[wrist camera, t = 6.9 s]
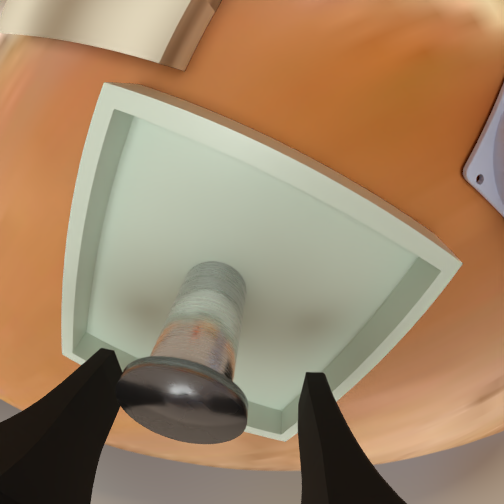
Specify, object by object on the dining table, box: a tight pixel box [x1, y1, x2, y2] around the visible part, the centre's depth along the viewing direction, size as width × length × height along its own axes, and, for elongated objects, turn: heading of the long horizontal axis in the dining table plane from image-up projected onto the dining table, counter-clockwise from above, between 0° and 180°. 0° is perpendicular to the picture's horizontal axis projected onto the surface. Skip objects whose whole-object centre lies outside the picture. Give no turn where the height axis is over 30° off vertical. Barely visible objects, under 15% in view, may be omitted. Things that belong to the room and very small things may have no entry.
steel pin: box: [115, 261, 248, 444], centre depth 11 cm, size 4×4×7 cm
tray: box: [62, 82, 463, 442], centre depth 14 cm, size 16×16×3 cm
